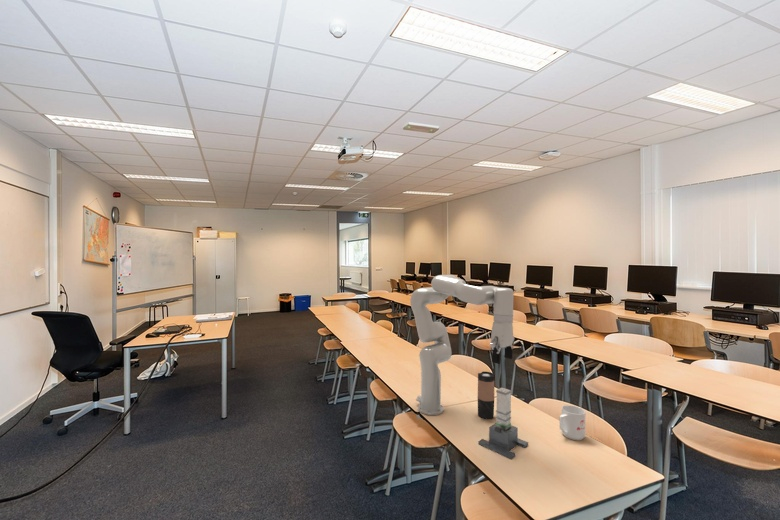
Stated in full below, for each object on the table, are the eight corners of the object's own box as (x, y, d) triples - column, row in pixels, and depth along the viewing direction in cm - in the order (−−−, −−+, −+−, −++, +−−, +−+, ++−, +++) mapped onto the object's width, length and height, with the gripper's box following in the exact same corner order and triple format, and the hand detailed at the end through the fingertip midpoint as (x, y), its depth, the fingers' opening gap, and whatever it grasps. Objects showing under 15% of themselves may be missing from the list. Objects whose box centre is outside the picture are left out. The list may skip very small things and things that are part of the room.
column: (495, 429, 136) (496, 390, 136) (501, 426, 139) (501, 387, 139) (505, 433, 133) (506, 393, 133) (510, 430, 136) (511, 390, 136)
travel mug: (495, 420, 156) (495, 377, 156) (477, 419, 158) (478, 376, 158) (493, 413, 164) (493, 372, 164) (477, 411, 165) (477, 370, 165)
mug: (571, 428, 149) (571, 403, 149) (590, 438, 141) (590, 412, 141) (551, 434, 144) (551, 408, 144) (569, 444, 136) (570, 417, 136)
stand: (478, 444, 136) (478, 424, 136) (496, 432, 146) (496, 413, 146) (511, 459, 126) (511, 437, 126) (528, 445, 136) (528, 425, 136)
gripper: (505, 314, 146) (504, 354, 146) (483, 319, 134) (482, 362, 135) (522, 317, 141) (521, 358, 141) (500, 322, 129) (499, 367, 129)
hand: (502, 360), depth 138 cm, fingers open, 9 cm apart
